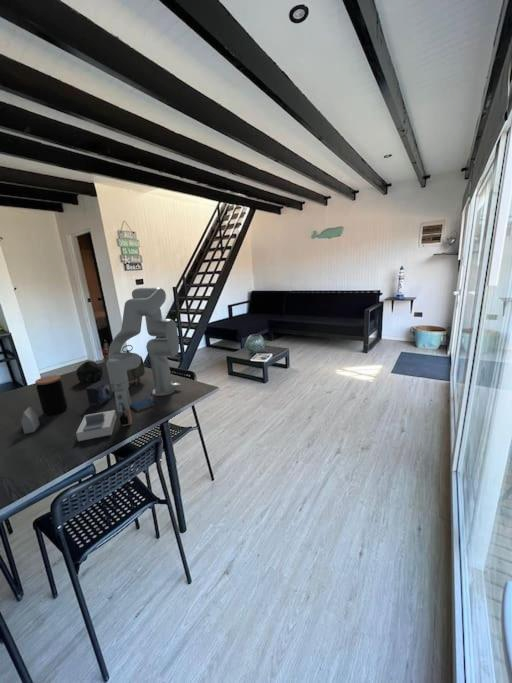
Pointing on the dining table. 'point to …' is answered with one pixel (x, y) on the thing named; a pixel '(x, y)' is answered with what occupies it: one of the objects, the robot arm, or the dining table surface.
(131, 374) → the tabletop clock
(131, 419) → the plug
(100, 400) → the small box
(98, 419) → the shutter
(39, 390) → the coffee jar
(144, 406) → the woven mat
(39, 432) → the dining table surface
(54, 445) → the dining table surface
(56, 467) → the dining table surface
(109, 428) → the socket block
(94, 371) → the squash
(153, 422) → the dining table surface
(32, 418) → the grey faceted stone
